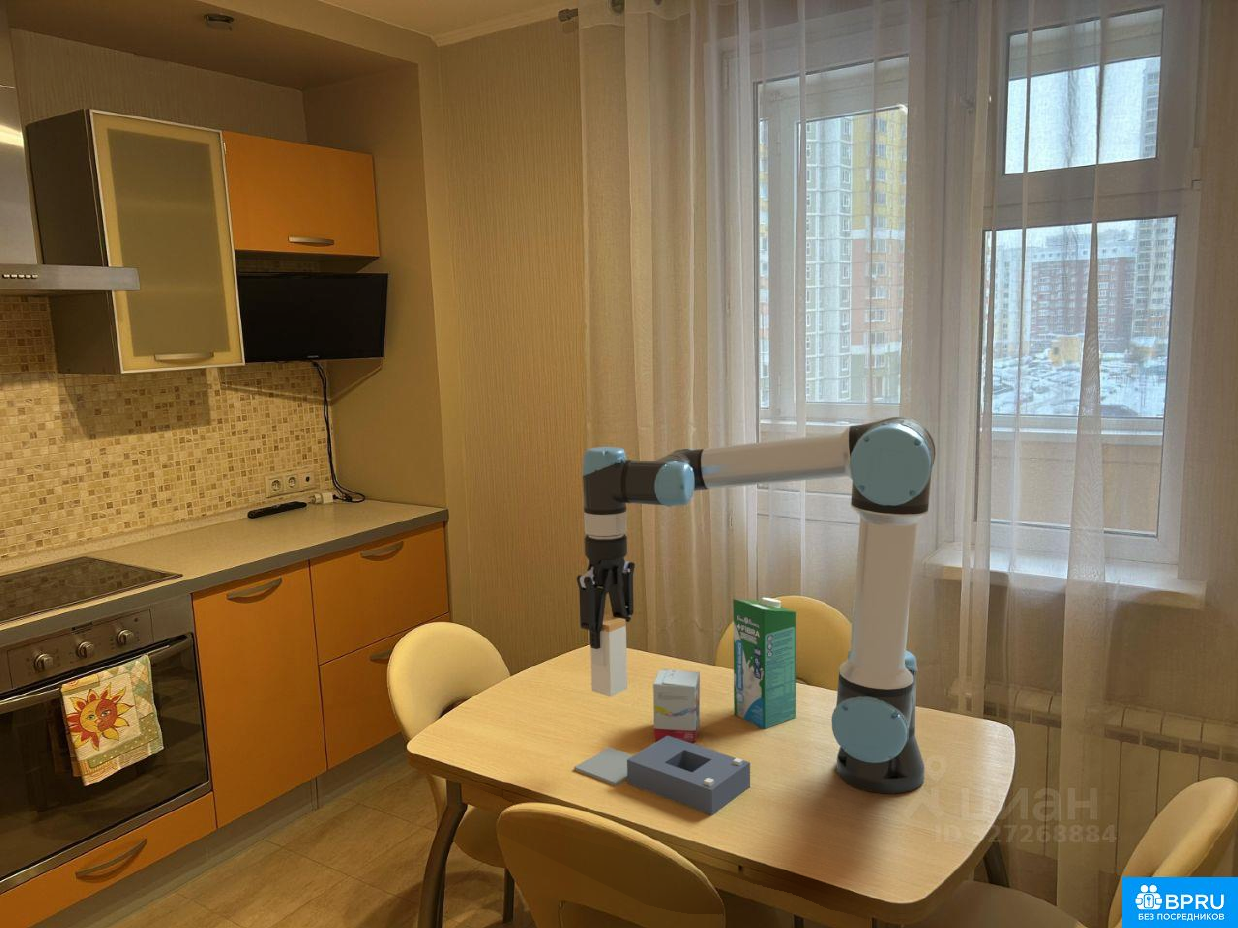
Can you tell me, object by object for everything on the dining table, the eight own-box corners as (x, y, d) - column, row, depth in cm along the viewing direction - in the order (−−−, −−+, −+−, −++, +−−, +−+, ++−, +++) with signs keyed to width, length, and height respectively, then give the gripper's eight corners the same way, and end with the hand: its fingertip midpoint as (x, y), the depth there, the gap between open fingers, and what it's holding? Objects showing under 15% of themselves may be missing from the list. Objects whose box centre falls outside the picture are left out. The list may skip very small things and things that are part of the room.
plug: (627, 688, 167) (625, 619, 165) (610, 696, 163) (609, 625, 161) (607, 683, 170) (606, 614, 168) (591, 690, 166) (589, 621, 164)
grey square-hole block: (750, 786, 160) (749, 759, 160) (711, 815, 151) (711, 786, 150) (667, 757, 172) (667, 732, 171) (627, 783, 163) (626, 756, 162)
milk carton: (796, 717, 188) (796, 600, 184) (763, 729, 183) (763, 608, 179) (765, 703, 195) (765, 590, 192) (733, 714, 190) (732, 598, 187)
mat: (650, 764, 169) (650, 761, 169) (616, 785, 162) (615, 782, 162) (609, 749, 176) (609, 746, 176) (574, 769, 168) (574, 766, 168)
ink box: (696, 743, 177) (695, 685, 176) (652, 740, 179) (651, 683, 177) (701, 724, 186) (700, 669, 184) (659, 722, 188) (658, 667, 186)
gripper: (620, 523, 171) (623, 642, 175) (555, 541, 158) (560, 669, 161) (652, 528, 167) (654, 650, 170) (588, 547, 153) (592, 679, 157)
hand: (608, 659), depth 166 cm, fingers closed on plug, 5 cm apart
